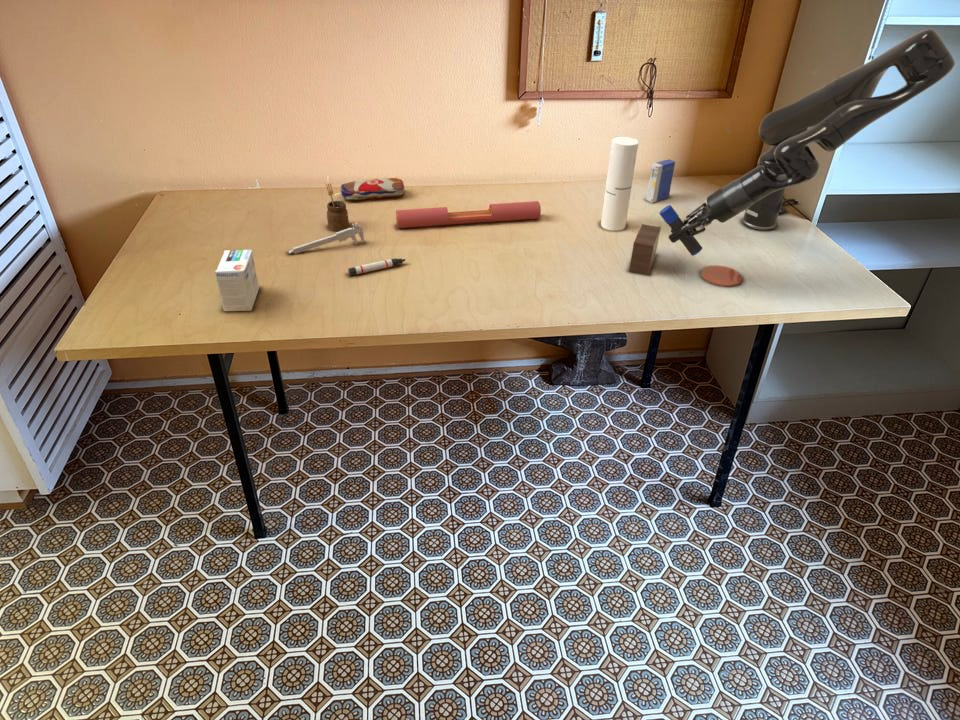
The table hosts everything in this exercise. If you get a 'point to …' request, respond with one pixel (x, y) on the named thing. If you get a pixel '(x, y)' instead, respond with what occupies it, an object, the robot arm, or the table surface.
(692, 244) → the felt marker
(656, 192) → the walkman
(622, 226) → the cylindrical container
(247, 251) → the light bulb box
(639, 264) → the walnut block
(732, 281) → the coaster
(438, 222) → the blood vessel
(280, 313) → the table surface
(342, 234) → the caliper
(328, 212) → the utensil holder
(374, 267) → the marker
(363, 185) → the pencil case
